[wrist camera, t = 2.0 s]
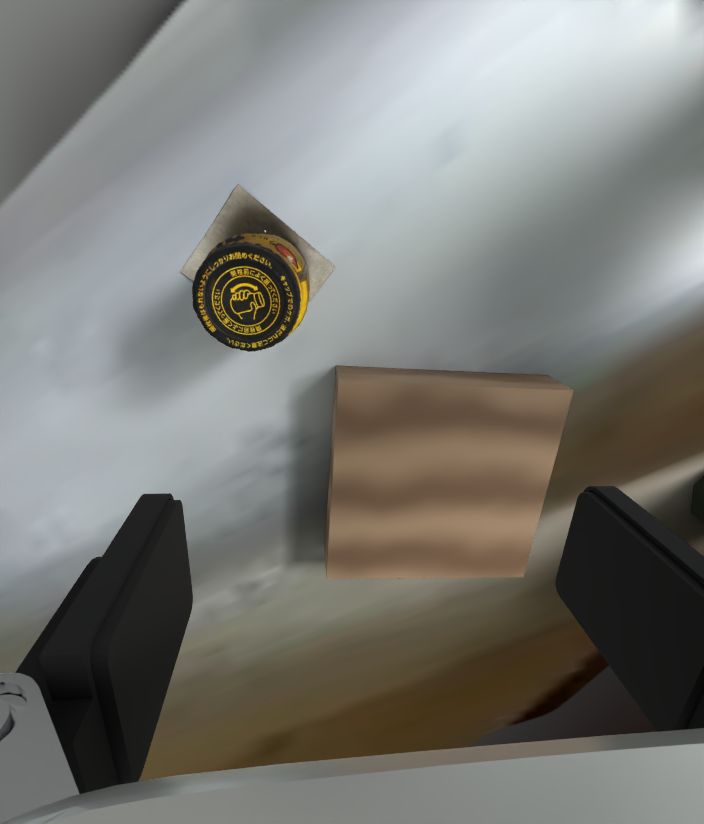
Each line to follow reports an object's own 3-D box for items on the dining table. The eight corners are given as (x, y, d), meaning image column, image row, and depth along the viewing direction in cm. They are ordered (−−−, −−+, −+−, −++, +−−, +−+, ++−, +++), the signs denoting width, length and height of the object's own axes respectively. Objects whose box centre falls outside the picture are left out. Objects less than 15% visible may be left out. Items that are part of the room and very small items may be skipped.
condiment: (277, 343, 34) (262, 393, 23) (181, 271, 31) (111, 289, 20) (335, 266, 32) (349, 281, 21) (238, 184, 30) (196, 152, 19)
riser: (335, 365, 35) (338, 380, 31) (547, 375, 37) (573, 390, 33) (324, 548, 42) (326, 578, 38) (505, 548, 44) (523, 577, 40)
